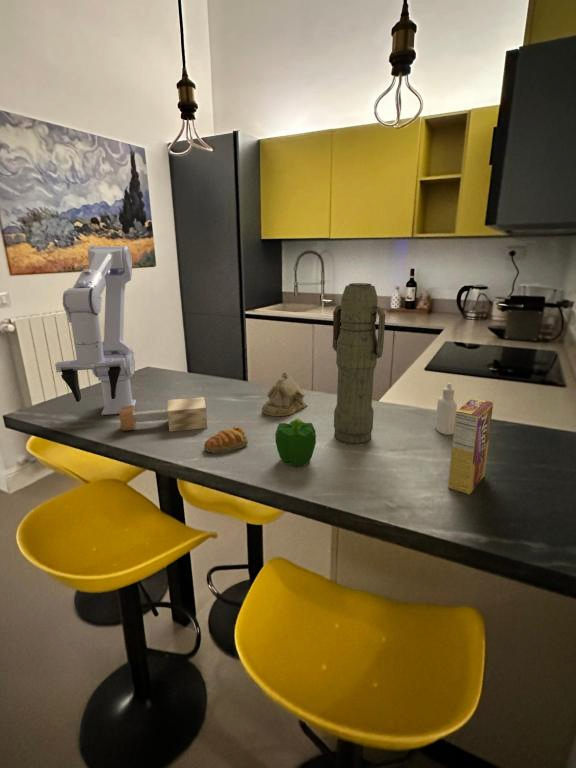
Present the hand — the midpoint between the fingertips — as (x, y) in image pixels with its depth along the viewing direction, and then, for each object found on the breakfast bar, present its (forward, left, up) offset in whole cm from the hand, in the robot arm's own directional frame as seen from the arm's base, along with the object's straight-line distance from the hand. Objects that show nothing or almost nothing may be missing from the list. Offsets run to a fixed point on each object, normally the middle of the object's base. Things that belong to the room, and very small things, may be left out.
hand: (96, 398), depth 100 cm
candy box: (+42, +70, -9) cm, 82 cm away
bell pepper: (+26, +41, -9) cm, 50 cm away
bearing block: (0, +20, -8) cm, 22 cm away
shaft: (0, +13, -8) cm, 15 cm away
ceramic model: (-5, +47, -9) cm, 48 cm away
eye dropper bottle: (+20, +80, -9) cm, 83 cm away
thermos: (+18, +57, -9) cm, 61 cm away
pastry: (+15, +29, -9) cm, 34 cm away
